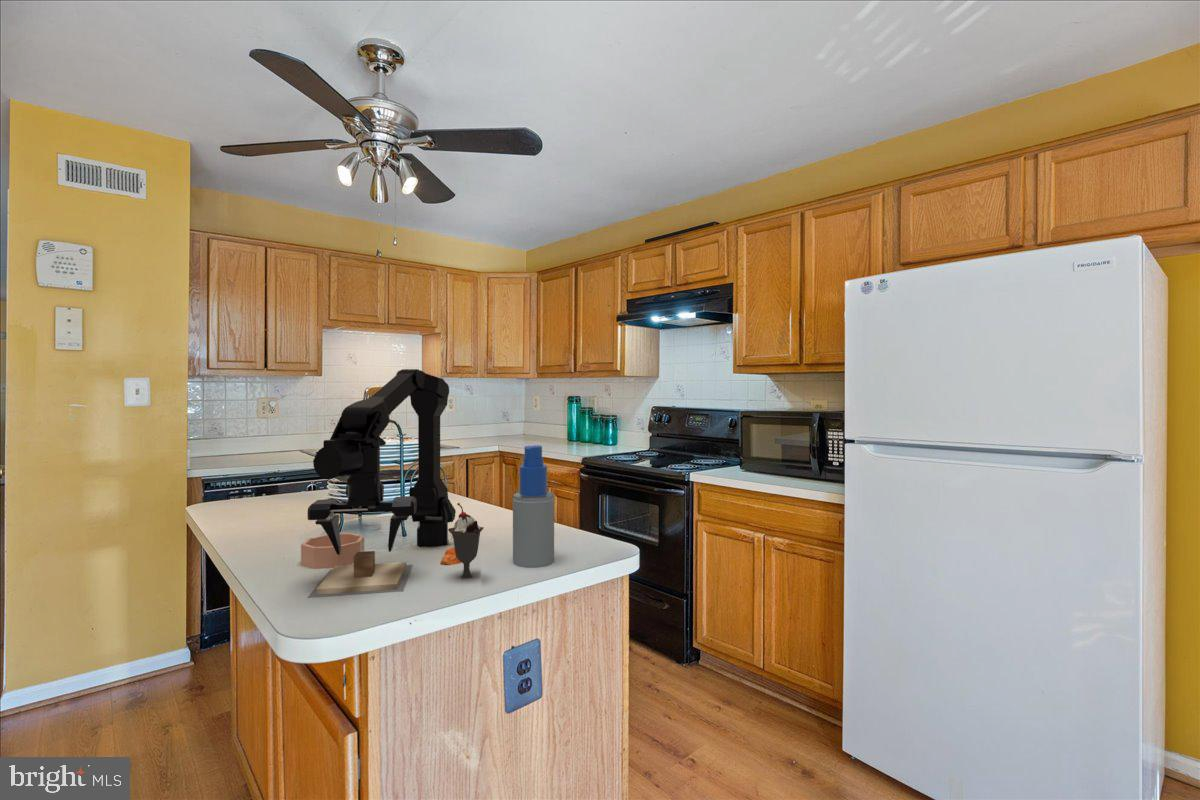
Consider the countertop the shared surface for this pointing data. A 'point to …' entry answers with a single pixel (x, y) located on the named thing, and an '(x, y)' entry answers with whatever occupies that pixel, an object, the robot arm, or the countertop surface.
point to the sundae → (466, 540)
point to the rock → (450, 557)
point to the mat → (399, 589)
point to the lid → (362, 576)
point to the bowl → (330, 551)
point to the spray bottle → (533, 513)
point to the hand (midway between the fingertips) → (364, 552)
